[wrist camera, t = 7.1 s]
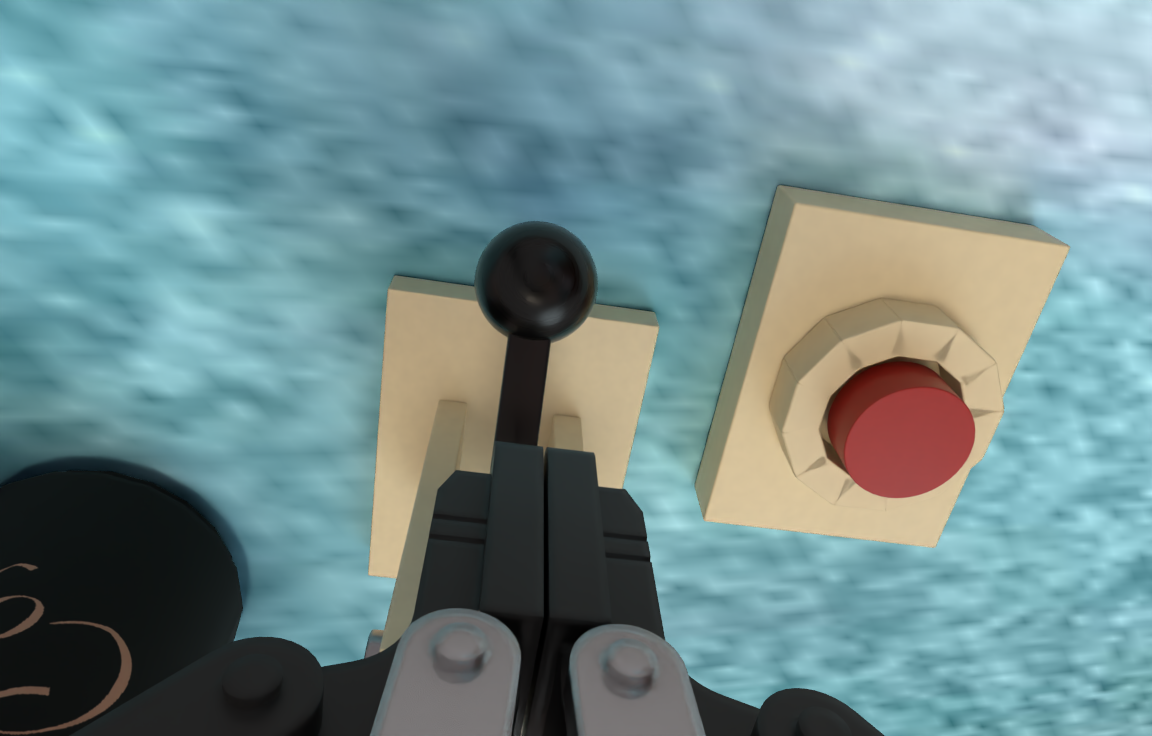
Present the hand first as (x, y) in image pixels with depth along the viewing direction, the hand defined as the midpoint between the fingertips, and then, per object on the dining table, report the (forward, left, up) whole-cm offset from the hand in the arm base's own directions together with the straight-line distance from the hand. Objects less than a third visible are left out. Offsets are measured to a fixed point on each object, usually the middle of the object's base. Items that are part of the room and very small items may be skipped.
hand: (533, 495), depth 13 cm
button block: (+4, +12, -16) cm, 21 cm away
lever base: (+9, 0, -16) cm, 19 cm away
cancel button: (+4, +12, -13) cm, 18 cm away
